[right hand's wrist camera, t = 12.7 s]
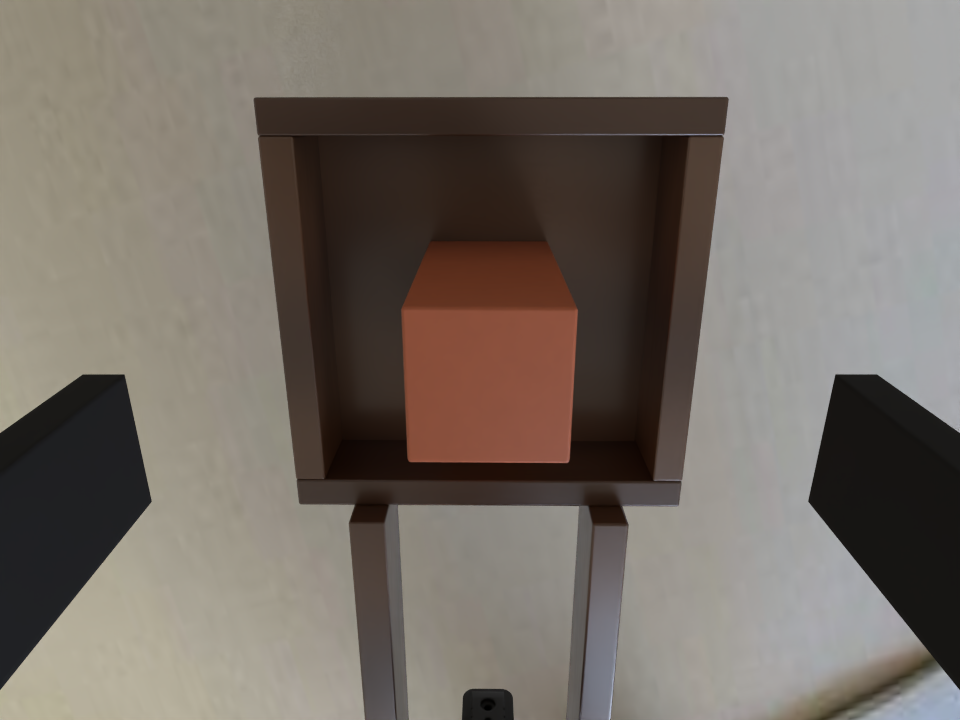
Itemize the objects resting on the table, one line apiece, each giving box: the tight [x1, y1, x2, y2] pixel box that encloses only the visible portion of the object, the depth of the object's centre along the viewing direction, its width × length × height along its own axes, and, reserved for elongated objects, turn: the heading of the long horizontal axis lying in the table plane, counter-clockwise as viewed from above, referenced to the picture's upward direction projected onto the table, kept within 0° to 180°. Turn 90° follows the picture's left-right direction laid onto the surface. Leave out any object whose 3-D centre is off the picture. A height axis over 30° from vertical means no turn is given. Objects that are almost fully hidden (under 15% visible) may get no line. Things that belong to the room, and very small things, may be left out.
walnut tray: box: [254, 97, 729, 720], centre depth 24 cm, size 28×13×4 cm, turn 0°
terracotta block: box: [401, 241, 578, 463], centre depth 19 cm, size 4×4×8 cm
